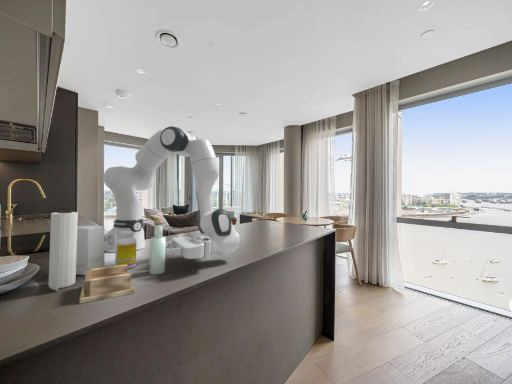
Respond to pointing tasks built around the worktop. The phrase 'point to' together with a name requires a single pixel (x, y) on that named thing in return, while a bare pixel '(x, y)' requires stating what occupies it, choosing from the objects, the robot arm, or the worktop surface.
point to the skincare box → (89, 248)
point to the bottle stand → (106, 283)
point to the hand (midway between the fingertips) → (163, 248)
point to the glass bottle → (157, 250)
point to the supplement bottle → (126, 249)
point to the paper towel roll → (63, 249)
